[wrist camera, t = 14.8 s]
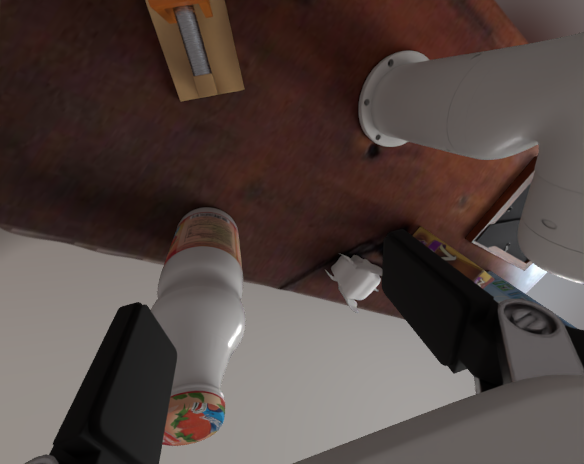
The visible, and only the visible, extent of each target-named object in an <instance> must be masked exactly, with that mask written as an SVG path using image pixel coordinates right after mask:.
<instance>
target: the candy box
mask: <svg viewBox="0 0 584 464" xmlns="http://www.w3.org/2000/svg"><path fill="white" fill-rule="evenodd" d="M412 236H413V237H415V238H416V239H417V240H419V241H420V242H421V243H423V244H424V245H425V246H427V247H428V248H429V249H431V250H432V251H433V252H435V253H436V254H437V255H439V256H440V257H441V258H443V259H444V260H445V261H447V262H448V263H449V264H451V265H452V266H453V267H455V268H456V269H457V270H459V271H460V272H461V273H463V274H464V275H465V276H467V277H468V278H469V279H471V280H472V281H473V282H475V283H476V284H477V285H479V286H480V287H481V288H482V289H484V288H485V287H486V286H487V285H488V284H489V283H491V282H493V281H494V280H495V279H494V278H493V277H492V276H490V275H489V274H488V273H487V272H486V271H485V270H483V269H482V268H480V267H479V266H478V265H476V264H475V263H473V262H472V261H470V260H469V259H467V258H466V257H465V256H463V255H462V254H460V253H459V252H457V251H456V250H454V249H453V248H452V247H450V246H449V245H447V244H446V243H444V242H443V241H441V240H440V239H439V238H437V237H436V236H434V235H433V234H431V233H430V232H428V231H427V230H426V229H424V228H423V227H419V229H418V230H417V231H416V232H415V233H414V234H413V235H412Z"/></svg>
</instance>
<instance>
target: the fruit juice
mask: <svg viewBox="0 0 584 464" xmlns="http://www.w3.org/2000/svg"><path fill="white" fill-rule="evenodd" d="M242 293H243V273H242V264H241V254H240V245H239V235H238V229H237V226H236V224H235V222H234V220H233V219H232V218H231V217H230V216H229V215H228V214H227V213H225V212H223V211H222V210H219V209H216V208H211V207H203V208H198V209H195V210H193V211H191V212H189V213H188V214H186V215H185V216H184V217H183V218H182V220H181V221H180V222H179V224H178V227H177V230H176V232H175V235H174V238H173V241H172V244H171V247H170V250H169V253H168V256H167V258H166V261H165V264H164V267H163V269H162V272H161V276H160V279H159V284H158V300H157V301H156V302H155V304H154V305H153V307H152V309H151V312H152V313H153V315H154V316H155V318H156V320H157V321H158V323H159V324H160V326H161V327H162V329H163V330H164V332H165V333H166V335H167V336H168V338H169V339H170V341H171V342H172V344H173V345H174V347H175V348H176V351H177V363H176V368H175V374H174V380H173V386H172V391H171V397H170V403H169V408H168V414H167V420H166V425H165V431H164V437H163V443H162V444H163V445H171V446H178V445H187V444H191V443H196V442H199V441H202V440H204V439H206V438H208V437H210V436H212V435H213V434H214V433H216V432H217V431H218V430H219V429H220V427H221V426H222V424H223V421H224V415H225V402H224V395H223V393H222V391H221V384H222V379H223V376H224V373H225V370H226V366H227V364H228V361H229V359H230V357H231V355H232V354H233V352H234V351H235V349H236V348H237V347H238V345H239V344H240V342H241V340H242V338H243V335H244V331H245V323H246V321H245V310H244V306H243V304H242V302H241V297H242Z"/></svg>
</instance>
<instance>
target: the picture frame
mask: <svg viewBox="0 0 584 464" xmlns="http://www.w3.org/2000/svg"><path fill="white" fill-rule="evenodd" d="M536 161H537V157H534V159H533V160H532V161H531V162H530V163H529V164H528V166H527V167H526V168H525V169H524V170H523V171H522V173H521V174H520V175H519V176H518V177H517V178H516V180H515V181H514V182H513V183H512V184H511V185H510V187H509V188H508V189H507V190H506V191H505V192H504V194H503V195H502V196H501V197H500V198H499V199H498V201H497V202H496V203H495V204H494V205H493V206H492V208H491V209H490V210H489V211H488V212H487V213H486V215H485V216H484V217H483V218H482V219H481V220H480V222H479V223H478V224H477V225H476V226H475V227H474V229H473V230H472V231H471V232H470V233H469V234H468V236H467V237H466V238H465V239H467V240H469V241H470V242H472V243H474V244H476V245H477V246H479V247H481V248H483V249H485V250H487V251H489V252H490V253H492V254H494V255H496V256H498V257H500V258H502V259H503V260H505V261H507V262H509V263H511V264H513V265H515V266H516V267H518V268H520V269H522V270H524V271H525V270H526V269H527V268H528V267H529V266H530V265H531V264H532V262H531V261H530V260H529V259H528V258H527V257H526V256H525V255H524V253H523V252H522V250H521V249H520V246H519V243H518V228H519V223H520V219H521V215H522V212H523V209H524V205H525V202H526V199H527V195H528V192H529V189H530V185H531V182H532V179H533V176H534V172H535V165H536Z"/></svg>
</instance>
